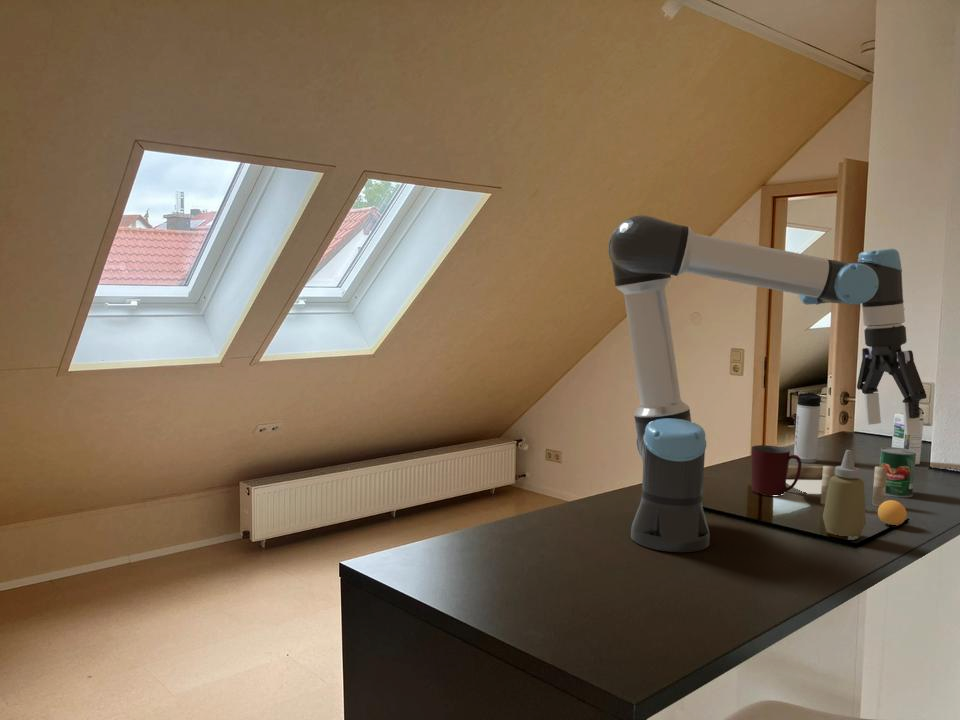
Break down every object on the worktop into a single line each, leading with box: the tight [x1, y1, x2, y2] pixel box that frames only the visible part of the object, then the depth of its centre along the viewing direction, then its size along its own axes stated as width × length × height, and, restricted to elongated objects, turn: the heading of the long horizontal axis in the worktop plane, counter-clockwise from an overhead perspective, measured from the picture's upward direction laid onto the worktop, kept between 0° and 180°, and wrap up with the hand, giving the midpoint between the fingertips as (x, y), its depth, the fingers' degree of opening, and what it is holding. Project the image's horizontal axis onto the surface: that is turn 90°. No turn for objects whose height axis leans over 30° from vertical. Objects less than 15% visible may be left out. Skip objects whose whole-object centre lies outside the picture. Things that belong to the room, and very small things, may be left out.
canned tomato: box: [879, 446, 916, 498], centre depth 199 cm, size 8×8×11 cm
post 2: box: [871, 465, 887, 507], centre depth 188 cm, size 3×3×9 cm
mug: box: [750, 444, 802, 495], centre depth 195 cm, size 12×9×11 cm
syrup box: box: [891, 412, 925, 465], centre depth 235 cm, size 6×6×14 cm
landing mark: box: [786, 479, 822, 495], centre depth 204 cm, size 14×14×1 cm
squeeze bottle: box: [822, 449, 866, 537], centre depth 162 cm, size 8×8×18 cm
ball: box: [877, 499, 907, 527], centre depth 172 cm, size 6×6×6 cm
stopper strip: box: [786, 465, 824, 480], centre depth 213 cm, size 16×2×3 cm, turn 93°
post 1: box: [820, 465, 836, 503], centre depth 187 cm, size 3×3×9 cm
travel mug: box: [793, 392, 822, 464], centre depth 234 cm, size 6×7×20 cm
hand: (892, 428), depth 163 cm, fingers open, 13 cm apart
